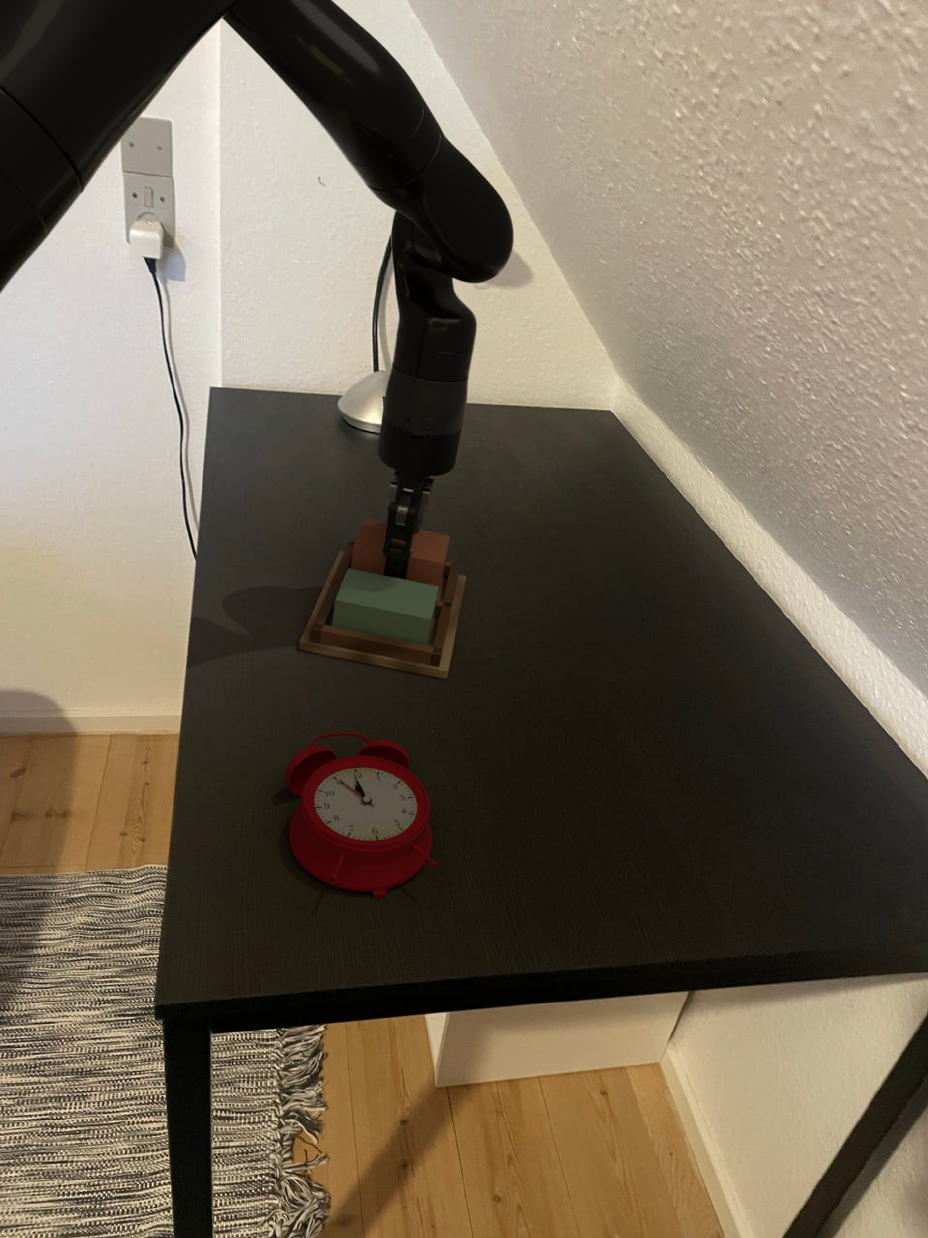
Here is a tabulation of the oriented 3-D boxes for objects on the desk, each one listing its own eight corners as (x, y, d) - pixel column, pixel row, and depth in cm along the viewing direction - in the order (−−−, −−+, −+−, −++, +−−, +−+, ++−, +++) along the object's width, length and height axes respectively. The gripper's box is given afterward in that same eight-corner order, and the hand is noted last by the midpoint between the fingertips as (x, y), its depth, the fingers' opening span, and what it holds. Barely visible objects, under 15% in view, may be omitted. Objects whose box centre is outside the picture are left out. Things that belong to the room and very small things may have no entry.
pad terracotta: (349, 579, 95) (353, 544, 93) (360, 551, 100) (365, 518, 98) (437, 597, 95) (443, 563, 93) (444, 568, 100) (450, 535, 98)
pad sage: (330, 635, 89) (334, 599, 86) (343, 602, 94) (347, 567, 92) (424, 654, 89) (431, 618, 87) (432, 620, 94) (439, 586, 92)
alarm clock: (311, 881, 61) (277, 698, 70) (300, 926, 65) (268, 748, 74) (462, 860, 65) (410, 689, 74) (442, 903, 69) (395, 736, 78)
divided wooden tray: (298, 650, 87) (300, 627, 86) (338, 557, 103) (341, 537, 101) (446, 679, 88) (451, 658, 86) (465, 583, 103) (469, 563, 101)
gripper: (395, 382, 94) (374, 530, 103) (369, 434, 82) (348, 597, 91) (469, 397, 94) (442, 544, 103) (454, 452, 82) (425, 613, 91)
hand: (398, 568), depth 97 cm, fingers closed on pad terracotta, 6 cm apart
